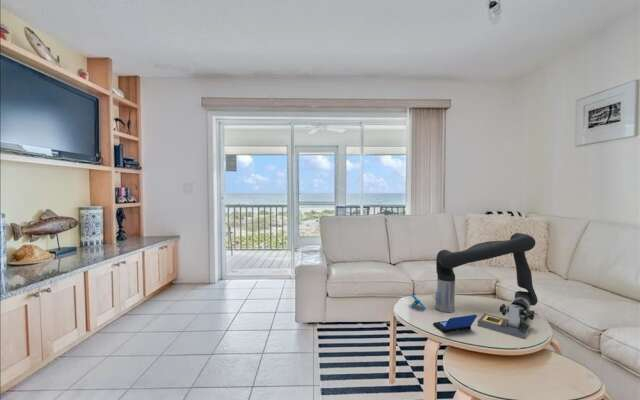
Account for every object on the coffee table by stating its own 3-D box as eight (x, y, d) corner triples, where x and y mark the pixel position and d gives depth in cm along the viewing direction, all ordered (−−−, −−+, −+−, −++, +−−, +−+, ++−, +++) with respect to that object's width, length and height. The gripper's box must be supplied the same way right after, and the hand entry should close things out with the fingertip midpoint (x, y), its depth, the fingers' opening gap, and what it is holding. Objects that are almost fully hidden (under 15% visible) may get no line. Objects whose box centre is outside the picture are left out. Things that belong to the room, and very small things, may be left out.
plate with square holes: (477, 325, 156) (477, 320, 156) (484, 318, 165) (484, 313, 165) (525, 338, 142) (525, 333, 142) (529, 330, 151) (529, 324, 151)
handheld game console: (458, 322, 161) (458, 304, 160) (477, 333, 148) (478, 314, 147) (431, 325, 157) (432, 307, 156) (449, 337, 144) (449, 318, 143)
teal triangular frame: (427, 309, 172) (414, 295, 174) (419, 316, 172) (406, 302, 174) (424, 304, 183) (411, 291, 185) (417, 311, 183) (404, 298, 185)
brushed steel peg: (508, 330, 150) (509, 306, 150) (510, 328, 153) (510, 304, 153) (517, 333, 148) (518, 308, 147) (519, 330, 151) (520, 306, 150)
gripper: (504, 296, 166) (497, 304, 154) (537, 302, 157) (532, 312, 145) (504, 309, 166) (496, 319, 154) (536, 317, 157) (531, 328, 145)
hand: (513, 316), depth 149 cm, fingers open, 8 cm apart
